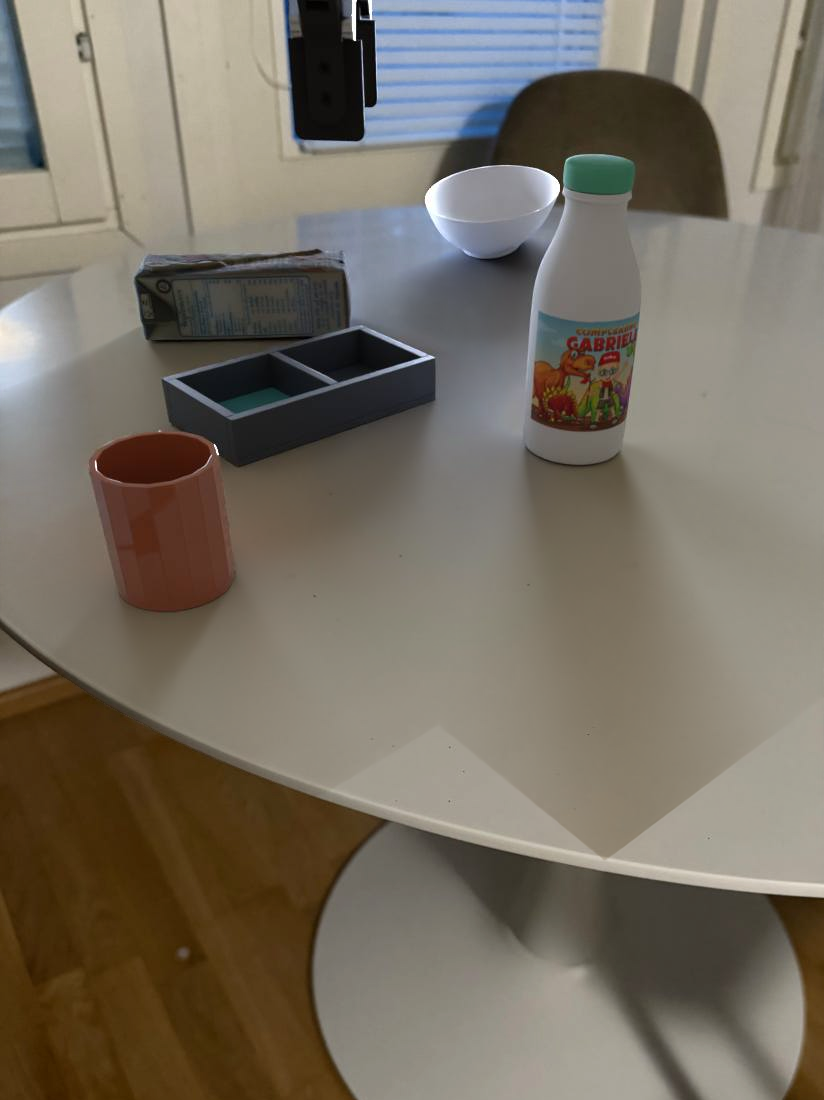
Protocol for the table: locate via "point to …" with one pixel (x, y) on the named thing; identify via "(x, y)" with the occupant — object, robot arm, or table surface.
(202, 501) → the cup
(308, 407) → the tray
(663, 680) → the table surface
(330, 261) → the beverage carton
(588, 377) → the milk bottle
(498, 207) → the bowl
